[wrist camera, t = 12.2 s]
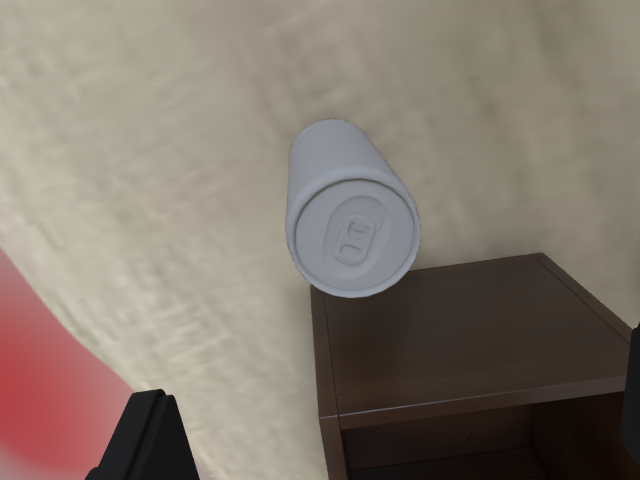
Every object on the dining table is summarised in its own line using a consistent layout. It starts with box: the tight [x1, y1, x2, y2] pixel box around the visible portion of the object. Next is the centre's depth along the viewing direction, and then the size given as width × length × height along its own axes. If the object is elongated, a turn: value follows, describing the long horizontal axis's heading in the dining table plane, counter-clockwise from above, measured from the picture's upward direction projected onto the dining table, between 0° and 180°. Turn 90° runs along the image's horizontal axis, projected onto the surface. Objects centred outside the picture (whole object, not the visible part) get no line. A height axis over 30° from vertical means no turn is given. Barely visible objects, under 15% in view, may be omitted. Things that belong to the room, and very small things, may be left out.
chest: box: [310, 253, 640, 480], centre depth 29 cm, size 16×15×12 cm
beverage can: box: [285, 119, 421, 298], centre depth 23 cm, size 5×5×12 cm
